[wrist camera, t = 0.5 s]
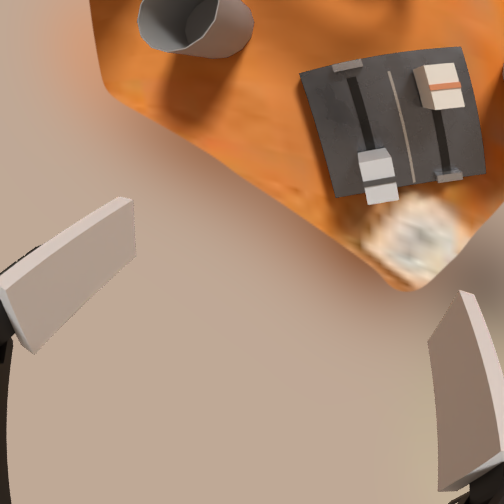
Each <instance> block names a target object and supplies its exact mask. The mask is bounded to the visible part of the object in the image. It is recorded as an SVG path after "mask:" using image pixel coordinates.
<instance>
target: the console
mask: <svg viewBox="0 0 504 504" xmlns="http://www.w3.org/2000/svg"><path fill="white" fill-rule="evenodd" d="M444 63H454V65H455V68H456V72H457V76H458V79H459V82H460V83H461V92H462V96H463V100H464V105H465V107H458V108H449V109H440V110H433V109H428V108H423V106H422V102H421V98H420V94H419V90H418V87H417V83H416V80H415V76H414V73H413V69H416V68H418V67H421V66H424V65H433V64H444ZM299 75H300V78H301V81H302V83H303V86H304V89H305V92H306V95H307V98H308V102H309V105H310V108H311V111H312V114H313V117H314V121H315V124H316V127H317V131H318V134H319V137H320V141H321V144H322V148H323V151H324V155H325V159H326V162H327V166H328V170H329V173H330V177H331V181H332V185H333V189H334V193H335V197H336V198H338V197H344V196H349V195H355V194H360V193H365V188H364V186H363V179H362V175H361V170H360V166H359V160H358V153H359V152H364V151H370V150H375V149H381V148H386V150H387V151H388V153H389V154H390V156H391V158H392V163H393V168H394V173H395V176H396V181H397V182H396V184H397V187H401V186H407V185H413V184H419V183H425V182H432V181H437V182H438V183H442V182H449V181H456V180H463V177H465V176H472V175H480V174H486V167H485V157H484V149H483V142H482V135H481V128H480V122H479V117H478V111H477V106H476V102H475V97H474V92H473V88H472V84H471V80H470V76H469V72H468V69H467V65H466V62H465V58H464V55H463V52H462V48H461V47H447V48H435V49H424V50H415V51H407V52H400V53H393V54H386V55H380V56H374V57H369V58H363V59H357V60H352V61H347V62H342V63H338V64H333V65H330V66H326V67H322V68H318V69H314V70H310V71H306V72H303V73H299Z"/></svg>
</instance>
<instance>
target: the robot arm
mask: <svg viewBox="0 0 504 504" xmlns="http://www.w3.org/2000/svg"><path fill="white" fill-rule="evenodd" d="M133 204H134V203H133V200H132V199H128V198H124V197H120V196H119V197H117V198H115V199H114V200H112V201H110V202H109V203H107V204H105V205H103V206H102V207H100V208H98V209H97V210H95V211H94V212H92V213H90V214H89V215H87V216H85V217H84V218H82V219H81V220H79V221H78V222H76V223H74V224H73V225H71V226H70V227H68V228H67V229H65V230H63V231H62V232H60V233H59V234H57V235H56V236H54V237H53V238H51V239H50V240H49V241H47V242H46V243H44V244H42V245H40V246H38V247H35V248H34V249H32V250H31V251H29V252H28V253H27V254H26V255H25V256H23V257H21V258H20V259H18V261H17V262H14V263H13V264H12V265H10V266H9V267H8V268H7V269H5V270H4V271H2V272H1V273H0V504H11V497H10V489H9V479H8V466H7V443H6V422H7V418H6V417H7V397H8V384H9V374H10V364H11V357H12V349H13V340H12V339H11V336H12V335H13V334H14V333H16V335H17V337H18V339H19V341H20V343H21V345H22V346H23V347H25V348H26V349H27V350H29V351H30V352H31V353H32V354H35V353H36V352H37V351H38V350H39V349H40V348H41V347H42V346H43V345H44V344H45V343H46V342H47V341H48V340H49V339H50V338H51V337H52V336H53V335H54V334H55V333H56V332H57V331H58V330H59V329H60V328H61V327H62V326H63V325H64V324H65V323H66V322H67V321H68V320H69V319H70V318H71V317H72V316H73V315H74V314H75V313H76V312H77V311H78V310H79V309H80V308H81V307H82V306H83V305H84V304H85V303H86V302H87V301H88V300H89V299H90V298H91V297H92V296H93V295H95V294H96V293H97V292H98V291H99V290H100V289H101V288H102V287H103V286H104V285H105V284H106V283H107V282H109V280H111V279H112V278H113V277H114V276H115V275H116V274H117V273H118V272H119V271H120V270H122V269H123V268H124V267H125V266H126V265H127V264H128V263H129V262H131V261H132V260H133V259H134V258H135V257H136V244H135V228H134V205H133ZM428 348H429V354H430V361H431V368H432V376H433V384H434V393H435V404H436V417H437V432H438V433H437V434H438V491H439V492H443V491H458V490H459V489H461V488H463V487H465V486H466V485H468V484H469V485H470V491H469V492H467V493H465V494H464V495H462V496H460V497H458V498H456V499H454V500H452V501H451V502H449V503H448V504H455V503H457V502H458V504H504V377H503V373H502V370H501V366H500V364H499V360H498V357H497V354H496V351H495V348H494V345H493V342H492V339H491V336H490V333H489V331H488V328H487V325H486V323H485V320H484V318H483V315H482V313H481V310H480V308H479V305H478V303H477V300H476V298H475V296H474V294H471V293H468V292H464V291H461V290H459V291H458V292H457V294H456V296H455V298H454V300H453V301H452V303H451V305H450V306H449V308H448V310H447V311H446V313H445V315H444V316H443V318H442V320H441V321H440V323H439V325H438V326H437V328H436V329H435V331H434V332H433V334H432V336H431V337H430V339H429V340H428Z"/></svg>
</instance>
